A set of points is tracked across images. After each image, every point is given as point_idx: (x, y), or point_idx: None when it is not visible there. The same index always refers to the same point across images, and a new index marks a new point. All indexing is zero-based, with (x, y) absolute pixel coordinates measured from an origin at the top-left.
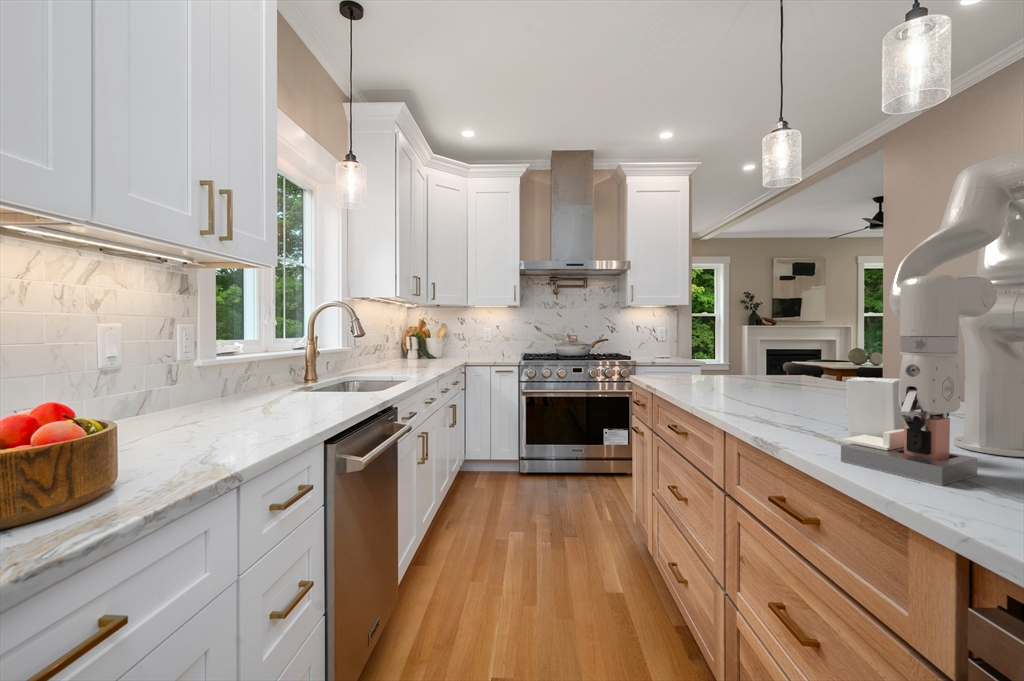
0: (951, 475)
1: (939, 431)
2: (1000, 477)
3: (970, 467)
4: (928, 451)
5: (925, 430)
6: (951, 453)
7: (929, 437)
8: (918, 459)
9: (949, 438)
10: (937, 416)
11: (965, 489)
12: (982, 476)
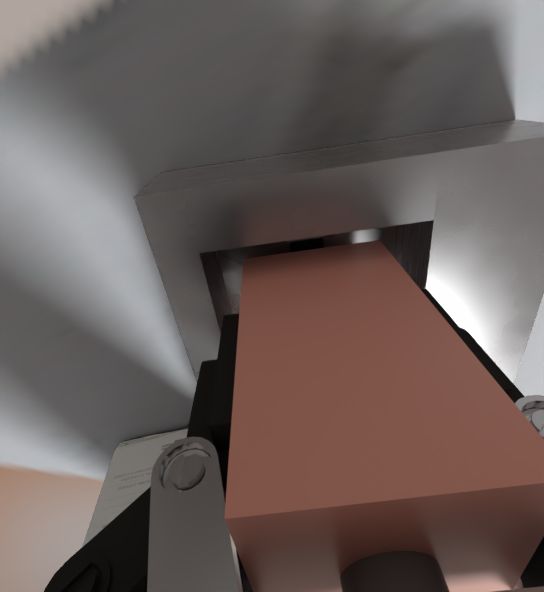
0: (443, 137)
1: (422, 377)
2: (66, 111)
3: (227, 172)
4: (433, 298)
5: (531, 410)
6: (179, 303)
7: (481, 355)
8: (491, 277)
9: (240, 344)
10: (253, 572)
11: (485, 36)
12: (145, 156)
